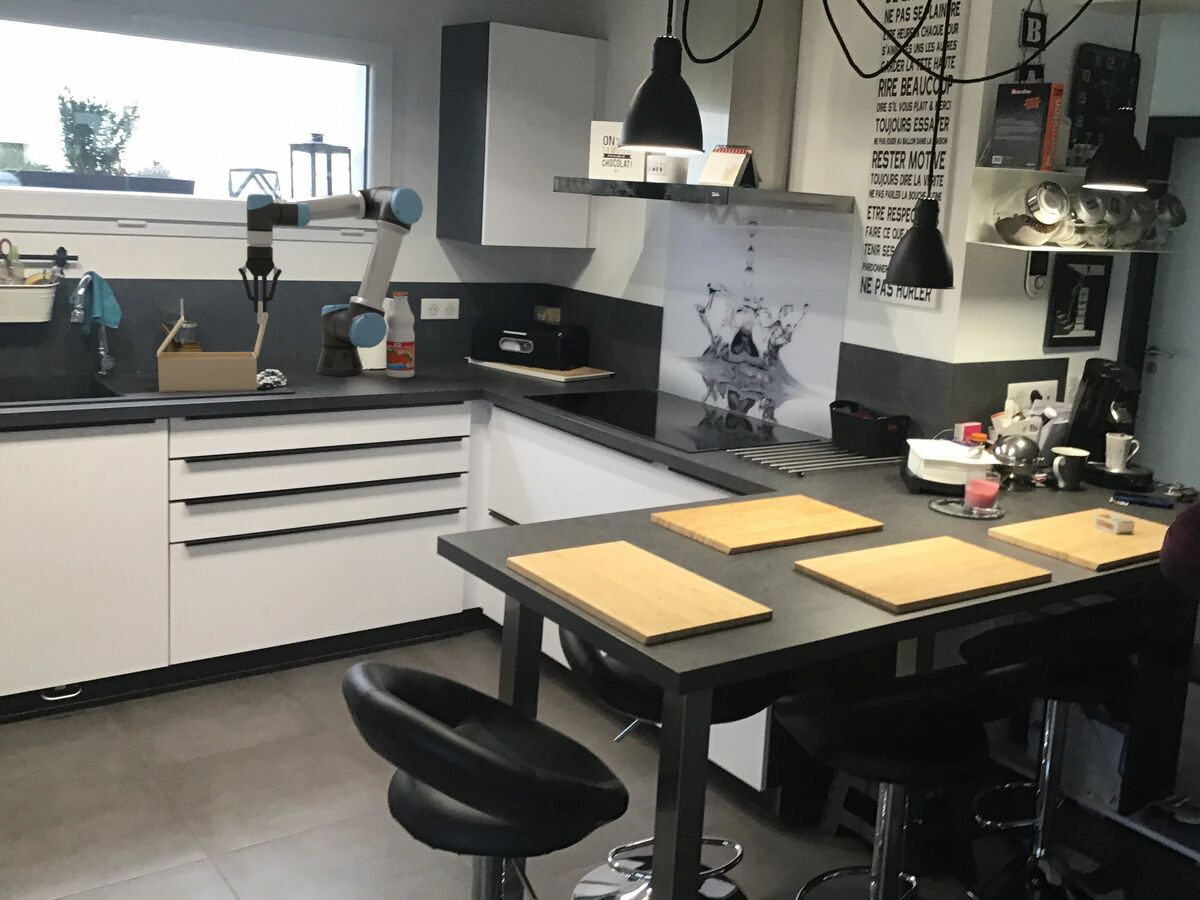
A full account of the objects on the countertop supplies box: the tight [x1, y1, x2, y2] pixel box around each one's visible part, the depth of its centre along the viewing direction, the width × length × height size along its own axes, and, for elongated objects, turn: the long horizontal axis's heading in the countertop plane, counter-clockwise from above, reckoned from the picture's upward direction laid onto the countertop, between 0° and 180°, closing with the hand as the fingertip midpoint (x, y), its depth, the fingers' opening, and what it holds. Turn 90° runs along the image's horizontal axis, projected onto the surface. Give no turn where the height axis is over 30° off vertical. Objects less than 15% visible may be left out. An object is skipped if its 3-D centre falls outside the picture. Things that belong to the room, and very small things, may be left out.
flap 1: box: [156, 315, 185, 358], centre depth 354 cm, size 13×12×1 cm
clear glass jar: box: [158, 321, 203, 353], centre depth 374 cm, size 9×14×18 cm, turn 105°
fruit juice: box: [385, 291, 416, 379], centre depth 395 cm, size 9×9×28 cm
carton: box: [157, 351, 258, 393], centre depth 360 cm, size 28×13×10 cm, turn 109°
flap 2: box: [253, 311, 269, 358], centre depth 362 cm, size 13×12×1 cm
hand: (260, 323), depth 362 cm, fingers closed
